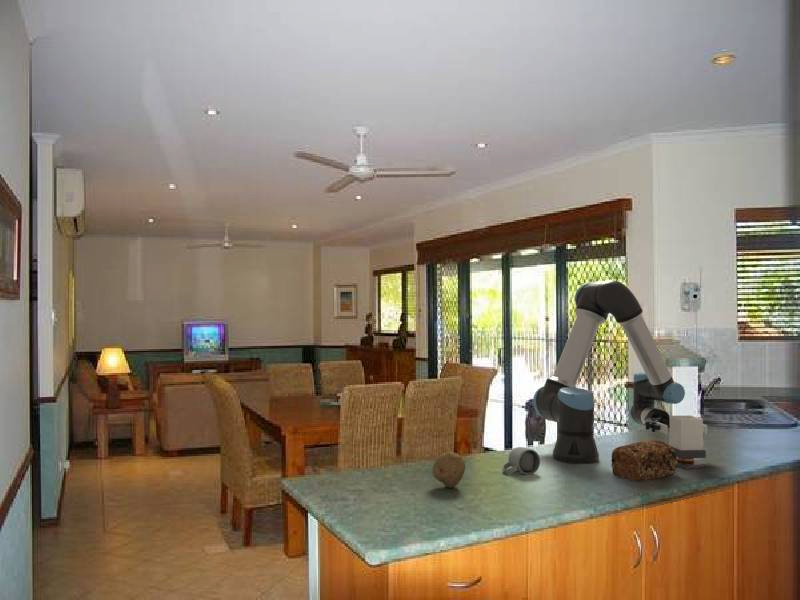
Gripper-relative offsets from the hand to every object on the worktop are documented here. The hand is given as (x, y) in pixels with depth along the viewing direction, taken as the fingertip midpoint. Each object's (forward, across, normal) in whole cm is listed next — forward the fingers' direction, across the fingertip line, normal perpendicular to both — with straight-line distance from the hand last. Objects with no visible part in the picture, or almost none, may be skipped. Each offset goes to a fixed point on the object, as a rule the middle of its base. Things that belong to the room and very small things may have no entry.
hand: (686, 429), depth 221 cm
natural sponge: (+24, +83, -12) cm, 87 cm away
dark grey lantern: (0, 0, -11) cm, 11 cm away
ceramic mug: (+8, +58, -12) cm, 60 cm away
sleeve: (0, 0, -6) cm, 6 cm away
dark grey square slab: (0, 0, -8) cm, 8 cm away
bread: (+13, +20, -12) cm, 27 cm away
